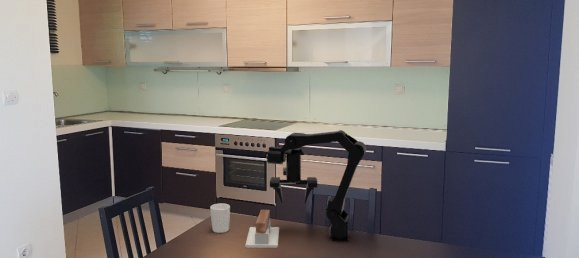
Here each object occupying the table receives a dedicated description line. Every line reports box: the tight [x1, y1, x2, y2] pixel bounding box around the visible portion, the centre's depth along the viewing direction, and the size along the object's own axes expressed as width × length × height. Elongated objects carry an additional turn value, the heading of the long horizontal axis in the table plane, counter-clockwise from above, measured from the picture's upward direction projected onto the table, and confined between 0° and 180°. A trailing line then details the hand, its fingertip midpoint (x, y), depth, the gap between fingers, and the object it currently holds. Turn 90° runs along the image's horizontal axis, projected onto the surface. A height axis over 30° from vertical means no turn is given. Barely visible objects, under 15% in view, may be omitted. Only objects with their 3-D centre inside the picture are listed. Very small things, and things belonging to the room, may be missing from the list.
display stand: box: [245, 219, 280, 249], centre depth 183 cm, size 12×18×5 cm, turn 179°
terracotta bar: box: [255, 209, 271, 234], centre depth 182 cm, size 4×15×4 cm, turn 176°
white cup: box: [209, 203, 231, 234], centre depth 191 cm, size 8×8×10 cm
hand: (293, 203), depth 186 cm, fingers open, 9 cm apart
